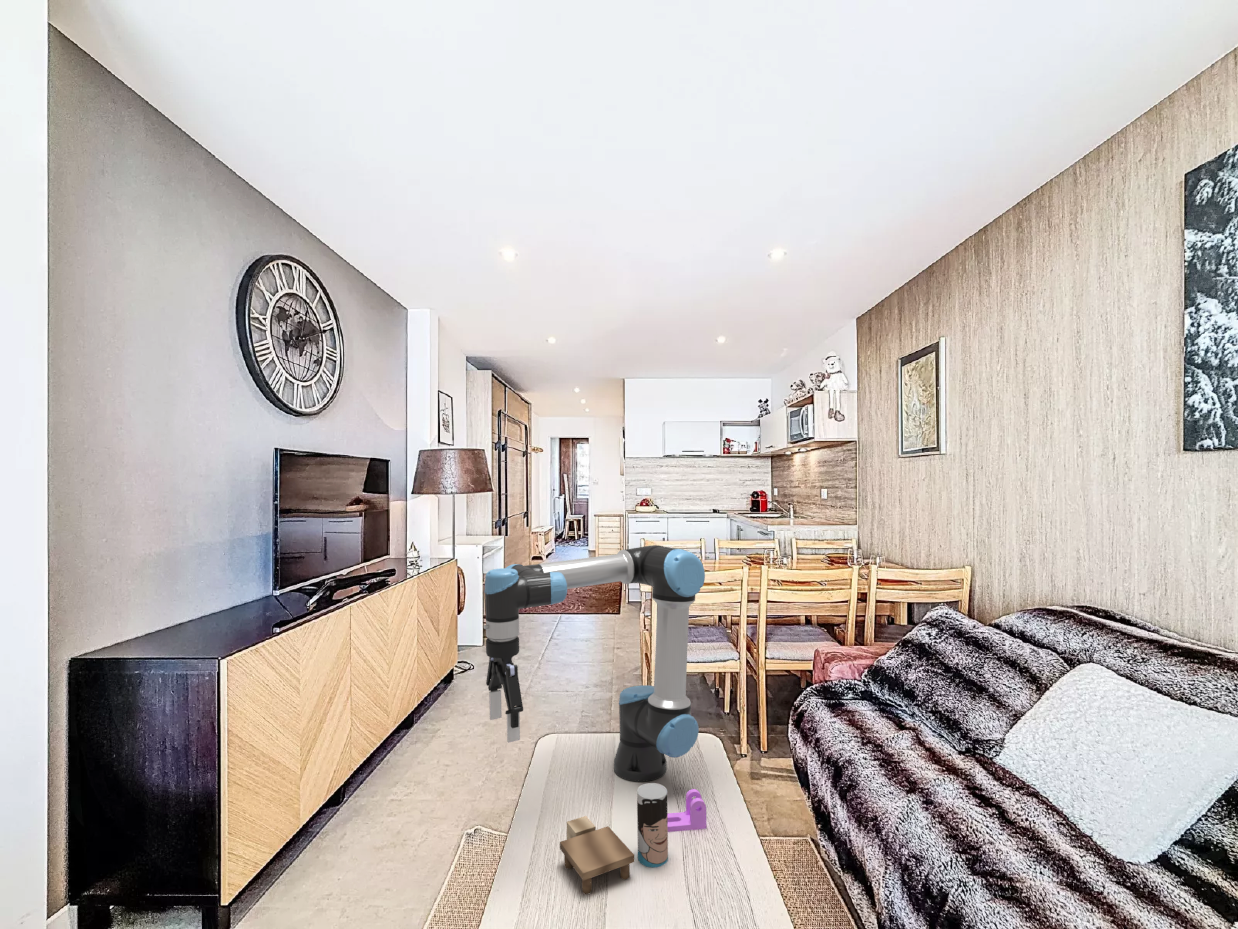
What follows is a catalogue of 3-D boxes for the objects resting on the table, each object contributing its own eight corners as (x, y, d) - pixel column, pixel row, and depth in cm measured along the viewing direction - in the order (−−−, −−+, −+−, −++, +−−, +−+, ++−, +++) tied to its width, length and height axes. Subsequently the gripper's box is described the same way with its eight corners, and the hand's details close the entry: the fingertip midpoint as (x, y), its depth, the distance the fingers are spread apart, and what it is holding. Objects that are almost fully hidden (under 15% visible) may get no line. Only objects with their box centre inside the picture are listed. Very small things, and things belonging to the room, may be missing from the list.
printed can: (642, 869, 136) (641, 800, 136) (634, 850, 142) (633, 785, 142) (671, 864, 137) (671, 796, 137) (662, 846, 144) (662, 781, 144)
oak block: (586, 836, 148) (586, 815, 148) (595, 848, 143) (595, 826, 143) (566, 843, 145) (566, 821, 145) (575, 855, 141) (575, 833, 141)
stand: (608, 847, 143) (608, 826, 143) (634, 878, 133) (634, 854, 133) (560, 864, 138) (559, 841, 138) (583, 897, 127) (583, 873, 127)
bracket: (700, 816, 156) (700, 788, 156) (706, 829, 151) (706, 800, 150) (649, 820, 154) (648, 792, 154) (653, 833, 149) (652, 804, 149)
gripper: (472, 626, 153) (474, 713, 153) (502, 654, 131) (504, 755, 131) (502, 622, 157) (503, 706, 157) (536, 648, 134) (538, 747, 135)
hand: (504, 729), depth 144 cm, fingers open, 13 cm apart
